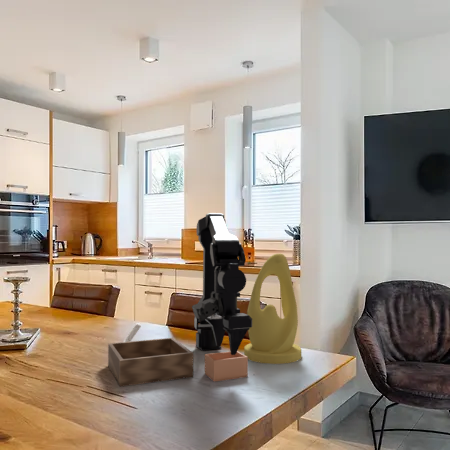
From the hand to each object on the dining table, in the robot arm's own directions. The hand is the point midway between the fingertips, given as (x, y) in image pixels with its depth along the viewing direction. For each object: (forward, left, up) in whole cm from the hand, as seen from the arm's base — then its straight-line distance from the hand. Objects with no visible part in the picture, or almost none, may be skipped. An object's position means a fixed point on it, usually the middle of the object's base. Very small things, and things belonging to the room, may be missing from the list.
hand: (225, 350), depth 114 cm
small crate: (0, 0, -6) cm, 6 cm away
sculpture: (-20, -12, -6) cm, 24 cm away
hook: (+19, -28, -7) cm, 34 cm away
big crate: (+17, -11, -6) cm, 21 cm away
